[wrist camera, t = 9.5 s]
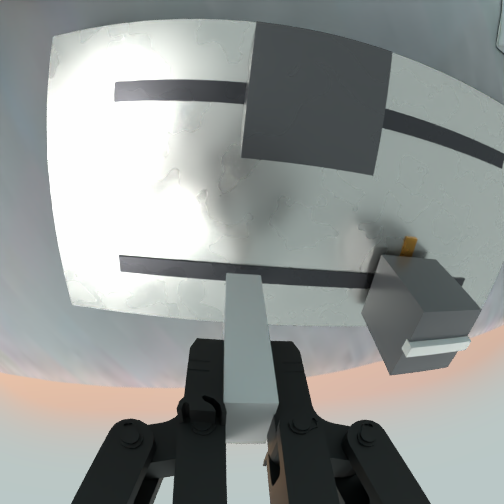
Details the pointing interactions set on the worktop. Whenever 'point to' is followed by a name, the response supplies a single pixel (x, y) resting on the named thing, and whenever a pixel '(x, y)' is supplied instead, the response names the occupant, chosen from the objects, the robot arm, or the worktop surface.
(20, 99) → the worktop surface
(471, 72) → the worktop surface
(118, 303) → the console
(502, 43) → the skincare box
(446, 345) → the fader
